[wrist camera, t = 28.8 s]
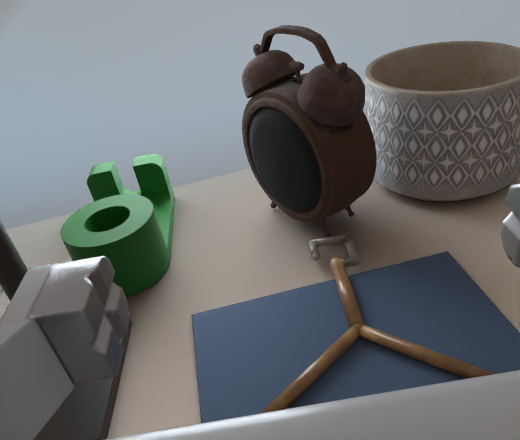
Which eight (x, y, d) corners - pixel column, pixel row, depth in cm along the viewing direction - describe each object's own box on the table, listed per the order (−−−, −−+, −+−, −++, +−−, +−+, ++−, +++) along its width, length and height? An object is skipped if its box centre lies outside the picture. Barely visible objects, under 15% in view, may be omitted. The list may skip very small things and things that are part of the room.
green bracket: (168, 288, 46) (149, 235, 42) (76, 307, 46) (50, 255, 42) (174, 196, 61) (161, 151, 58) (105, 210, 61) (88, 166, 57)
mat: (655, 493, 26) (657, 489, 25) (220, 621, 24) (218, 618, 24) (447, 254, 44) (447, 251, 44) (192, 317, 42) (191, 314, 42)
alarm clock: (245, 208, 56) (209, 32, 45) (291, 183, 59) (268, 13, 48) (334, 260, 46) (316, 48, 35) (384, 226, 49) (382, 22, 38)
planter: (435, 130, 65) (440, 34, 58) (551, 170, 53) (575, 54, 46) (340, 173, 59) (333, 72, 52) (446, 230, 47) (455, 107, 40)
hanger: (514, 383, 30) (415, 219, 46) (254, 424, 31) (243, 248, 47) (512, 395, 31) (414, 229, 47) (257, 434, 32) (245, 257, 47)
